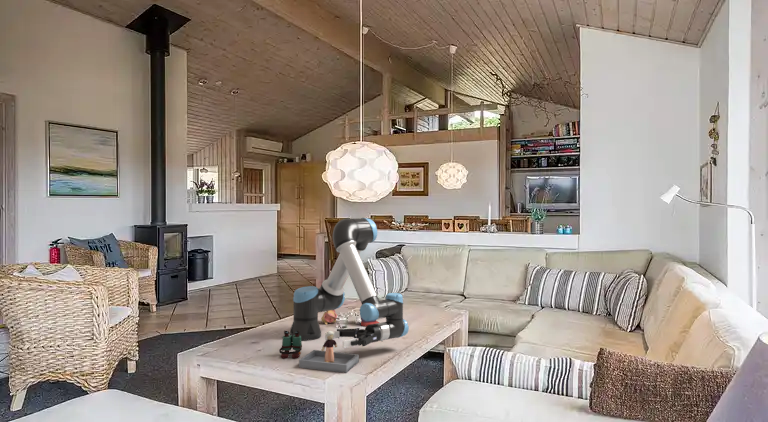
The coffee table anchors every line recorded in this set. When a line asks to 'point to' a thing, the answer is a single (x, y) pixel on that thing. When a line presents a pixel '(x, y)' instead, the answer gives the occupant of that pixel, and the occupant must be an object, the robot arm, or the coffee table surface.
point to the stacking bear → (367, 322)
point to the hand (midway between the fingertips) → (334, 340)
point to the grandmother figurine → (329, 347)
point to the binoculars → (291, 345)
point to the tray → (340, 364)
